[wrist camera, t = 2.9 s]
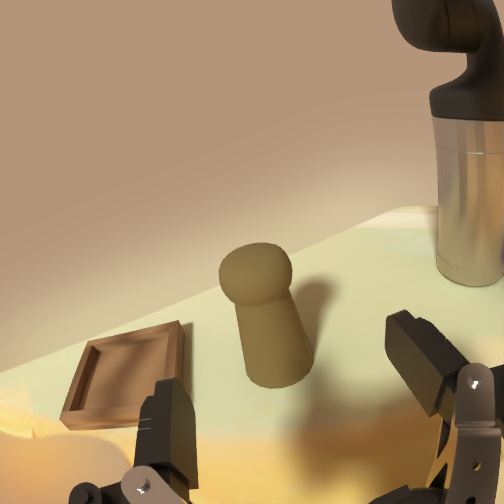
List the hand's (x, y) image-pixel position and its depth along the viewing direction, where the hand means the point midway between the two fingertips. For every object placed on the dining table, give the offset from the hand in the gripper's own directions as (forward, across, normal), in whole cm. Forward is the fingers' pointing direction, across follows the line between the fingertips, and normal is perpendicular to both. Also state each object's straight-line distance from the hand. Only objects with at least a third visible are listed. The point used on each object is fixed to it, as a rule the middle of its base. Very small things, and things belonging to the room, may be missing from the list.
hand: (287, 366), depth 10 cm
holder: (+14, +15, +11) cm, 23 cm away
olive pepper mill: (+12, 0, +12) cm, 16 cm away
